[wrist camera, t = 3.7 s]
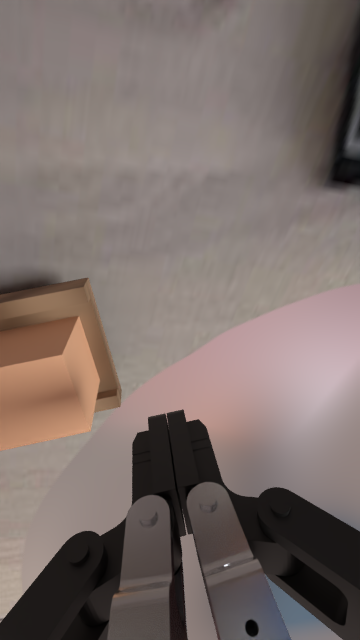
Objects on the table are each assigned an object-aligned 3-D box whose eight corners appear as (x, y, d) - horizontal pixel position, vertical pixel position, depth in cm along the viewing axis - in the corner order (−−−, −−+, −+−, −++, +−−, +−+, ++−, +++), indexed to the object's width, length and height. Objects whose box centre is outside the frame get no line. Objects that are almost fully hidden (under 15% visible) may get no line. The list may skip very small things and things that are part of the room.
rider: (78, 315, 20) (62, 354, 16) (99, 380, 22) (90, 431, 18) (-33, 337, 20) (-83, 384, 15) (-1, 401, 22) (-37, 458, 17)
